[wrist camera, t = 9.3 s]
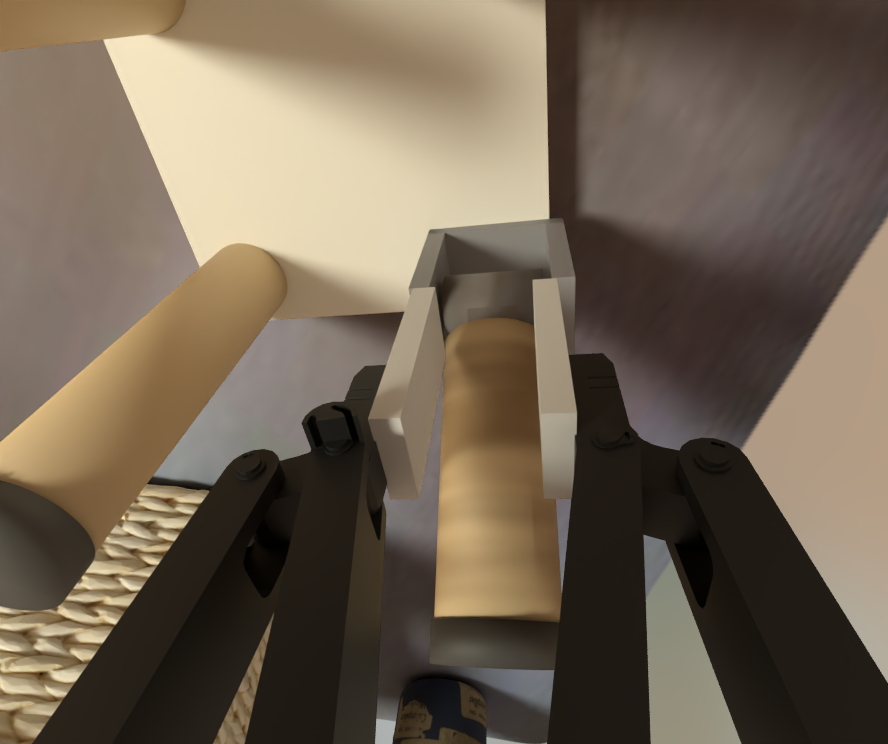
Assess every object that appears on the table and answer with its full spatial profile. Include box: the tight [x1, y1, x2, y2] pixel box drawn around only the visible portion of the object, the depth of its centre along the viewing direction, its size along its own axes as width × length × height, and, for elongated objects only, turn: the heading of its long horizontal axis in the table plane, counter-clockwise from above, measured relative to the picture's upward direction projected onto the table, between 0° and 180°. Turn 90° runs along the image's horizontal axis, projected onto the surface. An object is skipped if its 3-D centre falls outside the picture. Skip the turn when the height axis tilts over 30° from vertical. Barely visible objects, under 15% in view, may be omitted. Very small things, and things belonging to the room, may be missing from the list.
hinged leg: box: [429, 268, 562, 670], centre depth 19 cm, size 14×4×4 cm
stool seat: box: [0, 0, 575, 611], centre depth 17 cm, size 18×19×19 cm
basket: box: [0, 484, 274, 744], centre depth 40 cm, size 27×27×22 cm
